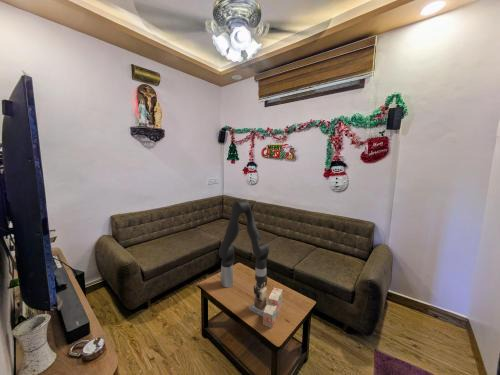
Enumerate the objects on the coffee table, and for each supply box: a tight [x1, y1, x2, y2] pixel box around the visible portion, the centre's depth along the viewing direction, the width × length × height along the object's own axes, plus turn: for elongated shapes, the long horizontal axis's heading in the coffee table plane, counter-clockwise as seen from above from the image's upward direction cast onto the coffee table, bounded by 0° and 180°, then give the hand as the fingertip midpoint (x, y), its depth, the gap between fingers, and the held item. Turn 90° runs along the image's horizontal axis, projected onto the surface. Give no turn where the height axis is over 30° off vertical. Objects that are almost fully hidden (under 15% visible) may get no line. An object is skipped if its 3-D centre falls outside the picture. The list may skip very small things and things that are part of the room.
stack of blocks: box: [262, 286, 284, 329], centre depth 136 cm, size 21×6×12 cm, turn 155°
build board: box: [248, 301, 268, 318], centre depth 143 cm, size 11×12×1 cm
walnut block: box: [253, 296, 267, 310], centre depth 142 cm, size 6×6×6 cm
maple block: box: [254, 286, 268, 300], centre depth 141 cm, size 6×6×6 cm
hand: (260, 295), depth 141 cm, fingers closed on maple block, 6 cm apart
